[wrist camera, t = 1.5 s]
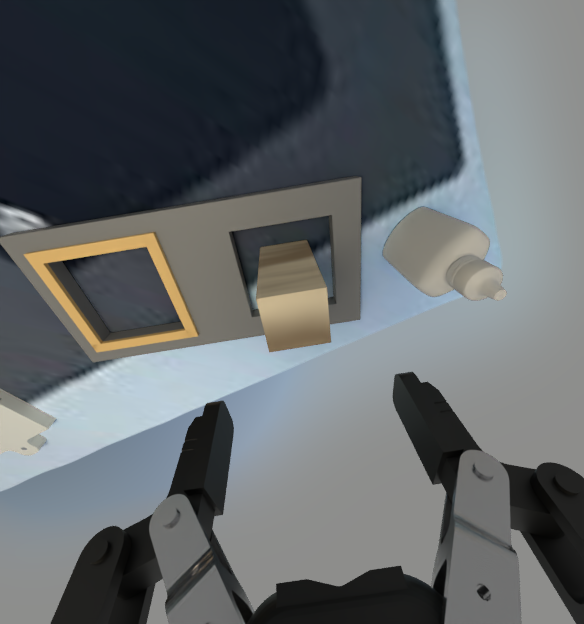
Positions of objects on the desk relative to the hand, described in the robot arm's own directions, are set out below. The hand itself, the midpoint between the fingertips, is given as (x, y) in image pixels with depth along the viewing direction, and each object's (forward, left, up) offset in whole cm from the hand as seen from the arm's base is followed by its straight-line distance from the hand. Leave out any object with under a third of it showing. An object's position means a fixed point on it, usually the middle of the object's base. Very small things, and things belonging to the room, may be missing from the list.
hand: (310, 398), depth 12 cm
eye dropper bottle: (-1, +12, -16) cm, 20 cm away
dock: (0, -8, -16) cm, 18 cm away
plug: (0, 0, -16) cm, 16 cm away
